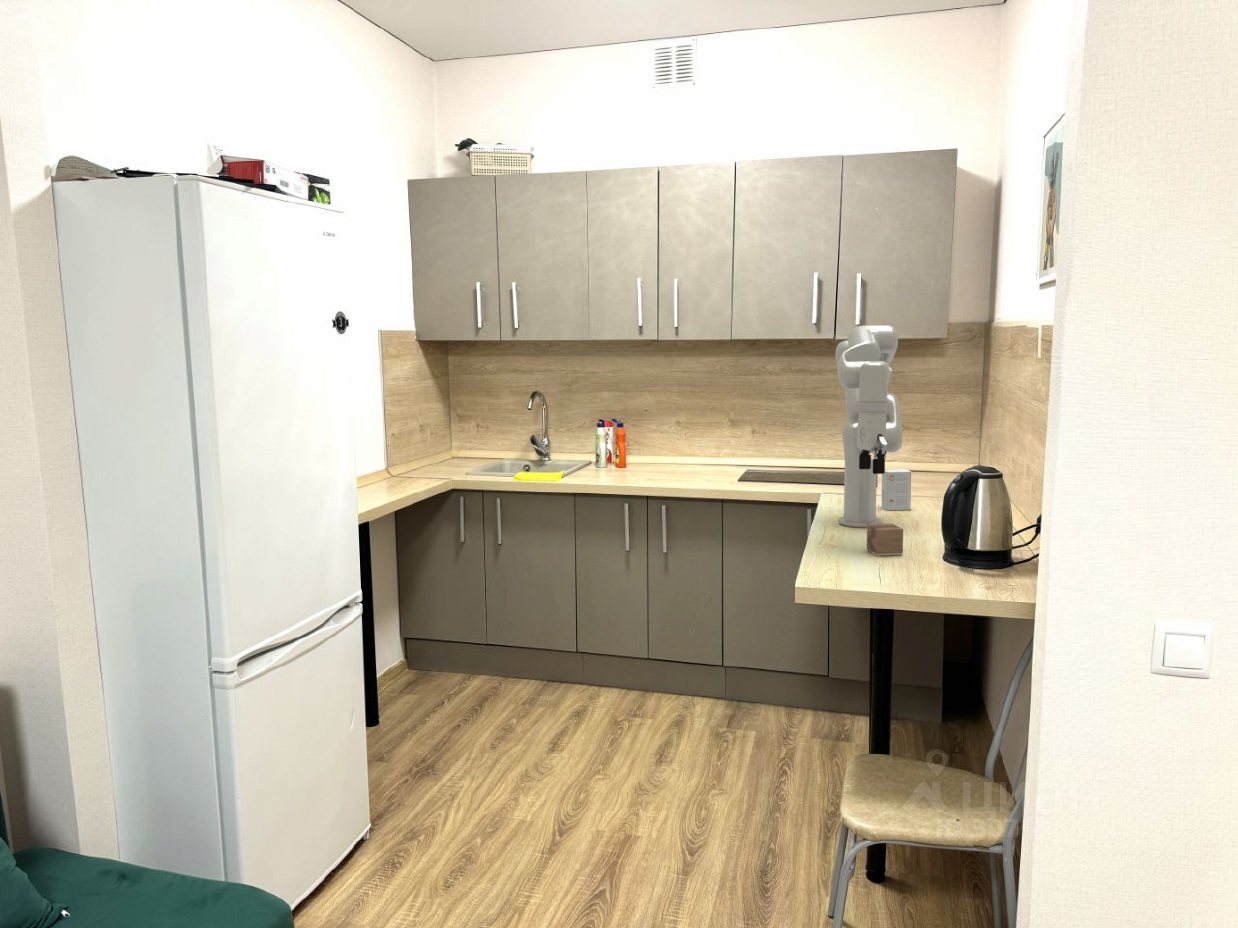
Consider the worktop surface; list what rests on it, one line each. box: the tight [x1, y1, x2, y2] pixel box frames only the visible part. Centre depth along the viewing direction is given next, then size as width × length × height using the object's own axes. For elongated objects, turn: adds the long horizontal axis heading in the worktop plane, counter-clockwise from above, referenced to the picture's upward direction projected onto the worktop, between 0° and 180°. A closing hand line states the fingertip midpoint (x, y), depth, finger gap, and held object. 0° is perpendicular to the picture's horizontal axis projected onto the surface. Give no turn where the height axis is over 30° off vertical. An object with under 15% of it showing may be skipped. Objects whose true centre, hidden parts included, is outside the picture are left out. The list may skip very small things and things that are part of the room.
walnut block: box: [866, 523, 904, 557], centre depth 233 cm, size 7×7×7 cm
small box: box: [881, 468, 912, 511], centre depth 293 cm, size 8×6×13 cm
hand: (871, 471), depth 241 cm, fingers open, 8 cm apart
